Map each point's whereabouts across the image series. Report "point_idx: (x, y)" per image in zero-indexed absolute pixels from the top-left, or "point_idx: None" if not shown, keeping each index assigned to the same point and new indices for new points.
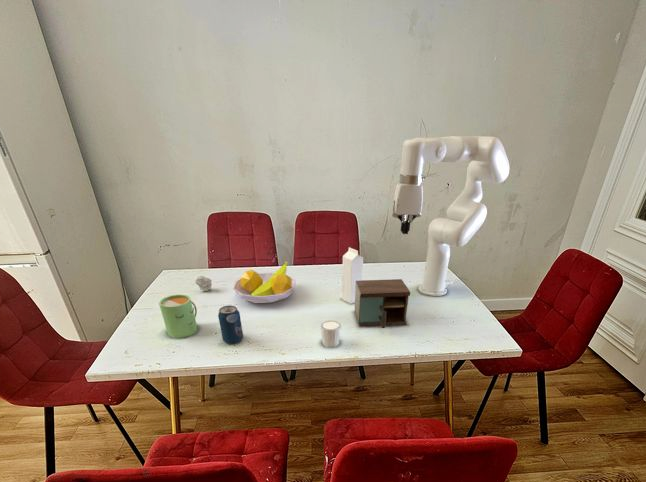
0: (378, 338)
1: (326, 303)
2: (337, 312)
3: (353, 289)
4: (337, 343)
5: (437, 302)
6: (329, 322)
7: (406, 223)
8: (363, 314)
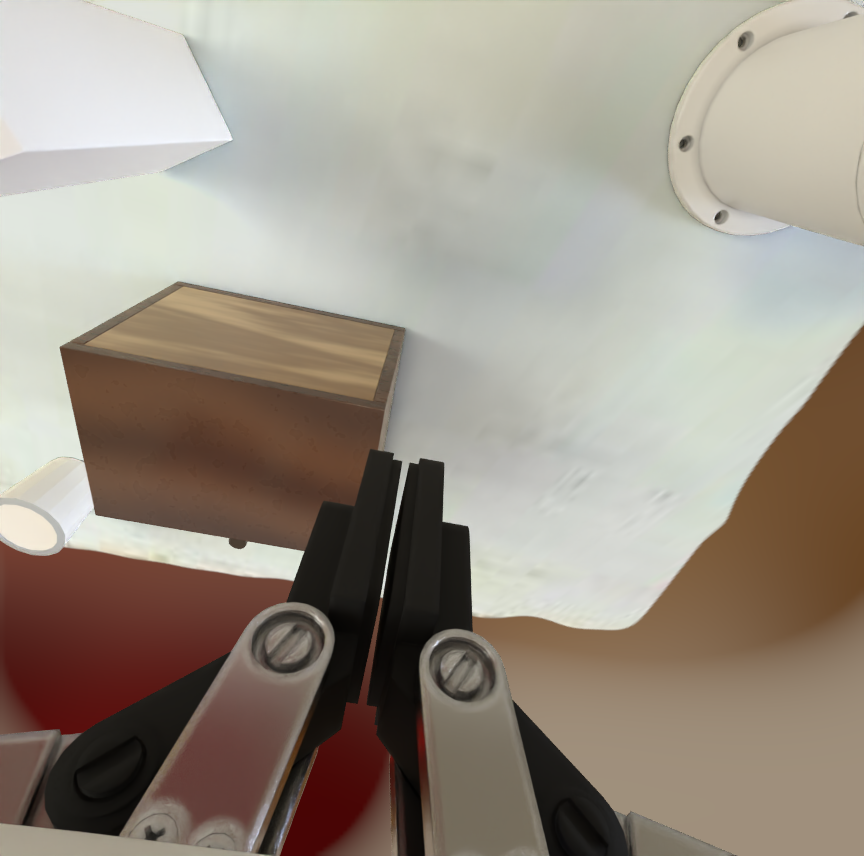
0: None
1: None
2: (86, 258)
3: (126, 171)
4: None
5: (658, 305)
6: (16, 510)
7: (370, 684)
8: None
